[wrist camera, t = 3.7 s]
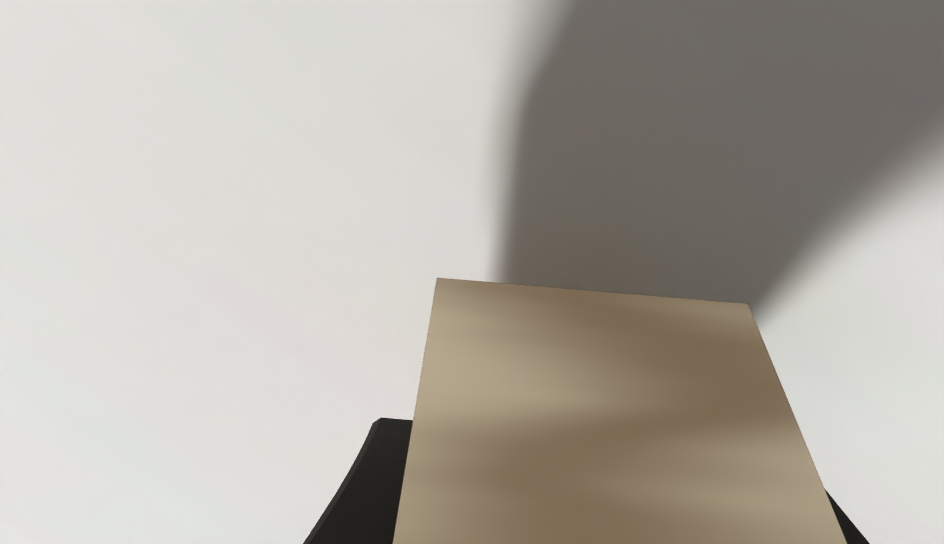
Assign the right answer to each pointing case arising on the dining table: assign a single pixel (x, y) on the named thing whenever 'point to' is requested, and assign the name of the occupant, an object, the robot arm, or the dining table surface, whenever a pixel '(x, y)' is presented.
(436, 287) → the ash block
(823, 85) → the dining table surface
